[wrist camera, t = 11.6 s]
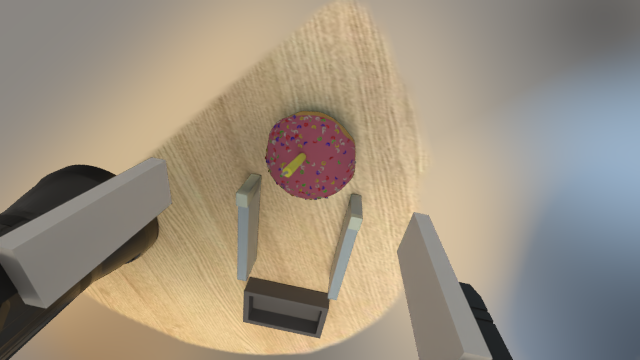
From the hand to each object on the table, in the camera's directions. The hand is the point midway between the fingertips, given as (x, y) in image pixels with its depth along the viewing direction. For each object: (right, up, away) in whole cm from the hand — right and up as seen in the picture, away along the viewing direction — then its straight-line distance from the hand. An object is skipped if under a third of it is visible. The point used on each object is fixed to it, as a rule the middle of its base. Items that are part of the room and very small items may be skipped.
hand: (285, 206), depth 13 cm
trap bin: (-3, -18, +27) cm, 33 cm away
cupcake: (+1, +6, +14) cm, 15 cm away
